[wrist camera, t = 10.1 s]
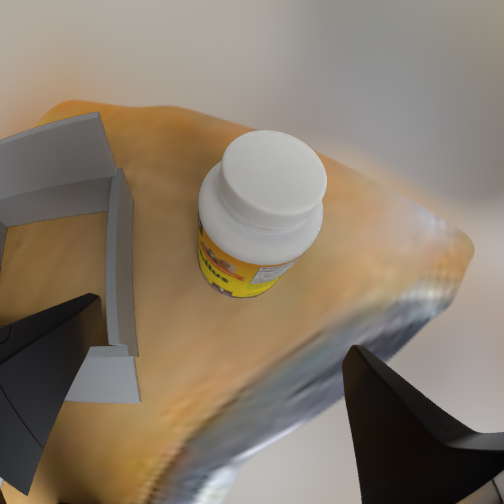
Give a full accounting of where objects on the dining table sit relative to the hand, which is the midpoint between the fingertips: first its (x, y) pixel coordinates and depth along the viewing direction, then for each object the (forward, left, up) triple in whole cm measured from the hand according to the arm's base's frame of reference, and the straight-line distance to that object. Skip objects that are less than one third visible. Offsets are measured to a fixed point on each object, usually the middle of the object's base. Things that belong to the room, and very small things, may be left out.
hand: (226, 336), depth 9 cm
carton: (+4, +12, -8) cm, 15 cm away
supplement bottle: (+5, -2, -9) cm, 10 cm away
